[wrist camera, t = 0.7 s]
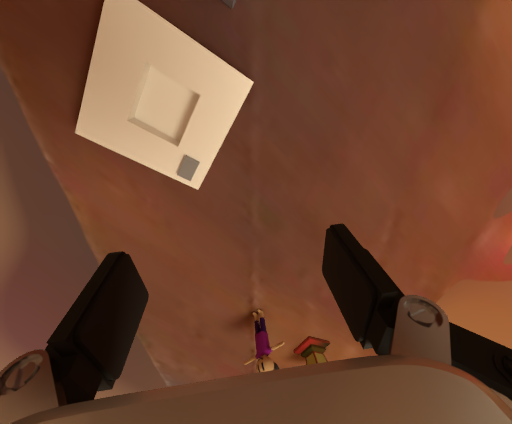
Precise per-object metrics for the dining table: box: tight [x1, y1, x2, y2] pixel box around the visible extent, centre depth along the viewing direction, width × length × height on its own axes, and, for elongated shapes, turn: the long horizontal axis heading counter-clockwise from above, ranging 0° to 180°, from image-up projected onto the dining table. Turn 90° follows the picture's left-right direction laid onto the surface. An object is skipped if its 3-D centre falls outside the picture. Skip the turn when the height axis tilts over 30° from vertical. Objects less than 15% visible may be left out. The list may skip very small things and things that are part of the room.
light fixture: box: [294, 336, 330, 365], centre depth 52 cm, size 8×8×30 cm
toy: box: [244, 309, 284, 373], centre depth 48 cm, size 10×6×15 cm, turn 128°
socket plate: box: [75, 0, 254, 190], centre depth 28 cm, size 16×16×4 cm
